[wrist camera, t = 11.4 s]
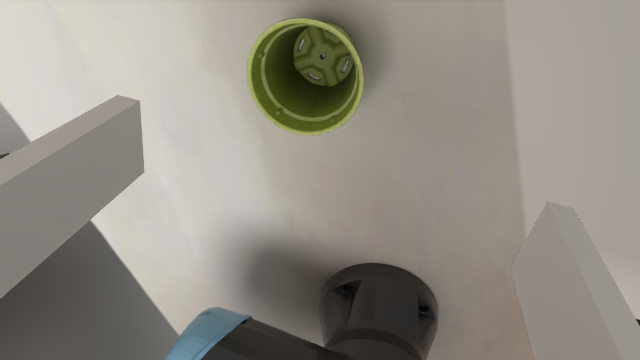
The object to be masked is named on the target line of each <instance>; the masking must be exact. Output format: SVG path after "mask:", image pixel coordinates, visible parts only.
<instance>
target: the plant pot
mask: <svg viewBox="0 0 640 360" xmlns="http://www.w3.org/2000/svg"><path fill="white" fill-rule="evenodd" d="M327 31H329V32H331V33H329V32H327ZM302 39H305V42H304V44H303V45H302V48H301V52H299V50H298V47H299V44H300V41H301V40H302ZM321 54H325V58H324V59H321V57H320V55H321ZM346 60H348V61H349V63H348V65H347V69H346V71H345V72H344V73H342V72H341V70H342V69H343V67H344V65H345V62H346ZM308 73H311V74H313V75H314V76H316V77H318V78H320V79H321V80H315V79H312V78H311V77H310V76H309V75H308ZM247 80H248V86H249V90H250V93H251V95H252V97H253V100H254V102H255V103H256V105H257V107H258V108H259V110H260V111H261V112H262V113H263V115H264V116H265V117H266V118H267V119H269V120H270V121H271V122H272V123H274V124H275V125H276V126H278V127H280V128H282V129H284V130H286V131H289V132H292V133H295V134H300V135H320V134H324V133H327V132H330V131H332V130H335V129H336V128H338V127H340V126H341V125H343V124H344V123H345V122H346V121H347V120H348V119H349V118H350V117H351V116H352V115H353V113H354V112H355V110H356V108H357V107H358V105H359V102H360V100H361V97H362V93H363V86H364V74H363V68H362V64H361V60H360V58H359V55H358V53H357V51H356V49H355V48H354V45H353V43H352V40H351V39H350V37H349V36H348V34H347V33H346V32H345V31H344V30H343V29H342V28H340V27H339V26H337V25H335V24H332V23H328V22H322V21H318V20H315V19H309V18H292V19H287V20H284V21H281V22H278V23H276V24H274V25H273V26H271V27H269V28H268V29H267V30H265V31H264V32H263V33H262V34H261V35H260V36H259V38H258V39H257V40H256V42H255V44H254V45H253V47H252V50H251V52H250V55H249V59H248V63H247Z"/></svg>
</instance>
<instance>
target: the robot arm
mask: <svg viewBox="0 0 640 360" xmlns="http://www.w3.org/2000/svg"><path fill="white" fill-rule="evenodd" d="M143 173H144V159H143V144H142V128H141V113H140V101H139V100H135V99H131V98H127V97H123V96H119V95H117V96H115V97H114V98H112V99H110V100H108V101H106V102H104V103H103V104H101V105H99V106H97V107H95V108H93V109H92V110H90V111H88V112H86V113H84V114H82V115H81V116H79V117H77V118H75V119H73V120H71V121H69V122H68V123H66V124H64V125H62V126H60V127H58V128H57V129H55V130H53V131H51V132H49V133H47V134H46V135H44V136H42V137H40V138H38V139H36V140H35V141H33V142H31V143H29V144H27V145H26V146H24V147H22V148H20V149H18V150H16V151H15V152H13V153H11V154H9V153H7V154H4V155H0V298H1V297H3V296H4V295H5V294H6V293H7V292H8V291H9V290H11V289H12V288H13V287H14V286H15V285H16V284H17V283H18V282H20V281H21V280H22V279H23V278H24V277H25V276H26V275H28V274H29V273H30V272H31V271H32V270H33V269H34V268H36V267H37V266H38V265H39V264H40V263H41V262H42V261H44V260H45V259H46V258H47V257H48V256H49V255H50V254H52V253H53V252H54V251H55V250H56V249H57V248H58V247H60V246H61V245H62V244H63V243H64V242H65V241H66V240H67V239H68V238H70V237H71V236H72V235H73V234H74V233H75V232H77V231H78V230H79V229H80V228H81V227H82V226H83V225H85V224H86V223H87V222H88V221H89V220H90V219H91V218H93V217H94V216H95V215H96V214H97V213H98V212H99V211H100V210H102V209H103V208H104V207H105V206H106V205H107V204H108V203H110V202H111V201H112V200H113V199H114V198H115V197H116V196H118V195H119V194H120V193H121V192H122V191H123V190H124V189H126V188H127V187H128V186H129V185H130V184H131V183H132V182H133V181H135V180H136V179H137V178H138V177H139V176H140V175H141V174H143ZM510 270H511V274H512V277H513V281H514V285H515V288H516V292H517V296H518V299H519V303H520V307H521V310H522V314H523V317H524V321H525V325H526V328H527V332H528V336H529V339H530V343H531V347H532V350H533V354H534V358H535V360H640V320H638V319H635V317H634V315H633V314H632V312H631V310H630V308H629V306H628V304H627V303H626V301H625V299H624V297H623V296H622V294H621V292H620V290H619V288H618V287H617V285H616V283H615V281H614V280H613V278H612V276H611V274H610V272H609V271H608V269H607V267H606V265H605V264H604V262H603V260H602V258H601V257H600V255H599V253H598V251H597V249H596V248H595V246H594V244H593V242H592V240H591V239H590V237H589V235H588V233H587V232H586V230H585V228H584V226H583V225H582V223H581V221H580V219H579V218H578V216H577V214H576V212H575V211H574V209H573V208H570V207H566V206H562V205H558V204H554V203H550V202H547V204H546V206H545V207H544V209H543V211H542V213H541V214H540V216H539V218H538V220H537V222H536V223H535V225H534V227H533V228H532V230H531V232H530V234H529V235H528V237H527V239H526V241H525V242H524V244H523V246H522V248H521V250H520V251H519V253H518V255H517V257H516V258H515V260H514V262H513V264H512V265H511V267H510ZM320 321H321V328H322V335H323V342H324V347H321V346H319V345H316V344H314V343H311V342H309V341H306V340H304V339H301V338H299V337H296V336H294V335H292V334H289V333H287V332H284V331H282V330H279V329H277V328H274V327H272V326H269V325H267V324H264V323H262V322H259V321H257V320H254V319H252V316H250V315H245V316H244V315H241V314H238V313H235V312H232V311H229V310H226V309H223V308H219V307H214V308H210V309H207V310H205V311H203V312H202V313H200V314H199V315H198V316H197V317H196V318H195V319H194V320H193V321H192V322H191V323H190V324H189V325H188V327H187V328H186V329H185V330H184V332H183V333H182V334H181V335H180V337H179V338H178V340H177V341H176V343H175V344H174V345H173V347H172V348H171V350H170V351H169V353H168V354H167V356H166V357H165V359H164V360H426V358H427V355H428V353H429V350H430V347H431V345H432V342H433V340H434V337H435V334H436V331H437V325H438V317H437V305H436V301H435V298H434V296H433V294H432V293H431V291H430V290H429V289H428V287H427V286H426V285H425V284H424V283H423V282H422V281H420V280H419V279H418V278H416V277H415V276H413V275H412V274H410V273H408V272H406V271H404V270H401V269H398V268H395V267H392V266H387V265H381V264H363V265H357V266H353V267H349V268H347V269H344V270H342V271H340V272H339V273H337V274H336V275H335V276H333V277H332V278H331V279H330V280H329V282H328V283H327V284H326V286H325V288H324V291H323V295H322V299H321V303H320Z"/></svg>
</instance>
